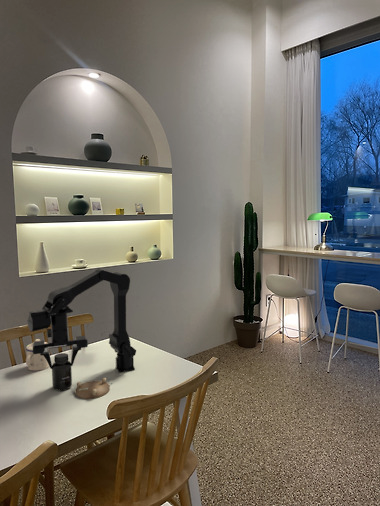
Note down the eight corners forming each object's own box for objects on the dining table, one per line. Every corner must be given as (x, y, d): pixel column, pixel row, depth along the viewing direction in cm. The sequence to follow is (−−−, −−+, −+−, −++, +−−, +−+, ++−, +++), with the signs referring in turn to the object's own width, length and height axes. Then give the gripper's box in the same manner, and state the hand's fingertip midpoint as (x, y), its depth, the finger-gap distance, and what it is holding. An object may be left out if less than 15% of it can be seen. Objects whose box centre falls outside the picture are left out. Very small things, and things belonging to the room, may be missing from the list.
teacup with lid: (36, 361, 169) (34, 335, 167) (55, 363, 166) (53, 336, 165) (17, 373, 157) (15, 345, 156) (37, 375, 155) (35, 346, 153)
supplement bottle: (66, 391, 141) (64, 359, 139) (49, 390, 142) (47, 358, 140) (75, 383, 147) (74, 352, 146) (59, 381, 149) (57, 351, 147)
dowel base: (106, 381, 149) (106, 374, 149) (112, 395, 138) (112, 388, 138) (74, 386, 145) (73, 379, 145) (77, 401, 134) (76, 394, 134)
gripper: (83, 317, 152) (85, 355, 154) (32, 322, 146) (34, 362, 148) (86, 325, 142) (88, 366, 144) (31, 331, 136) (34, 374, 137)
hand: (61, 367), depth 144 cm, fingers closed on supplement bottle, 7 cm apart
